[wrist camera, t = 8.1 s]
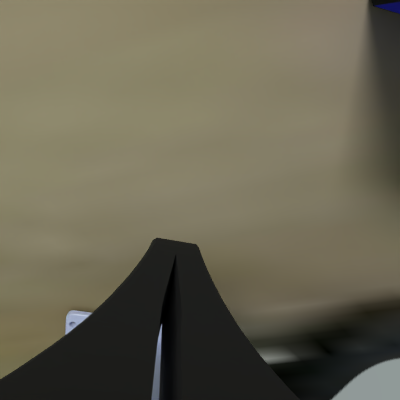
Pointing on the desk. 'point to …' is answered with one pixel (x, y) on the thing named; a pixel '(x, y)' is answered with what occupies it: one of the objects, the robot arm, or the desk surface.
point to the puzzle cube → (388, 5)
